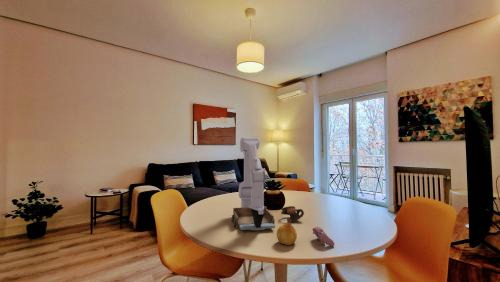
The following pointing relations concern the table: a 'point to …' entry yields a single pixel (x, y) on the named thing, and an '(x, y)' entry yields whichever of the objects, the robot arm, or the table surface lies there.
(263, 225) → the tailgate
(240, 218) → the cart bed
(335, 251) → the table surface
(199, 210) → the table surface
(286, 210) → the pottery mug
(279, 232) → the fruit
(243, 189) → the robot arm
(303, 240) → the table surface
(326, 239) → the pink animal figurine
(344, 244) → the table surface
